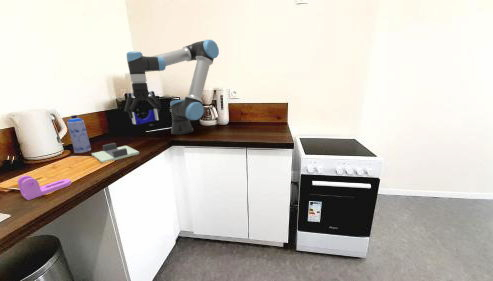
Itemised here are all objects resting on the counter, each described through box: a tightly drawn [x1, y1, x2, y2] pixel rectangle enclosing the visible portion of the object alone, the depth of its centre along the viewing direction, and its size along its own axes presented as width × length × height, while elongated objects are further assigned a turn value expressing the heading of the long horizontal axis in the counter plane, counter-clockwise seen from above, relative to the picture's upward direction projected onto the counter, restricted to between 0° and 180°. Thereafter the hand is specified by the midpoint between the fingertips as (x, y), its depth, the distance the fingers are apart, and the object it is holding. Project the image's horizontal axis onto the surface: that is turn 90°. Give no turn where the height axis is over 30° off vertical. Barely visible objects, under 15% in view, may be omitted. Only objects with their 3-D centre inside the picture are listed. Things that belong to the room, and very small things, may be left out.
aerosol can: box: [66, 114, 92, 154], centre depth 120 cm, size 8×8×20 cm
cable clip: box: [130, 109, 156, 126], centre depth 123 cm, size 12×4×6 cm, turn 142°
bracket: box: [16, 175, 72, 201], centre depth 77 cm, size 13×6×7 cm, turn 149°
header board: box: [91, 142, 140, 163], centre depth 112 cm, size 17×18×4 cm
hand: (146, 122), depth 123 cm, fingers closed on cable clip, 12 cm apart
